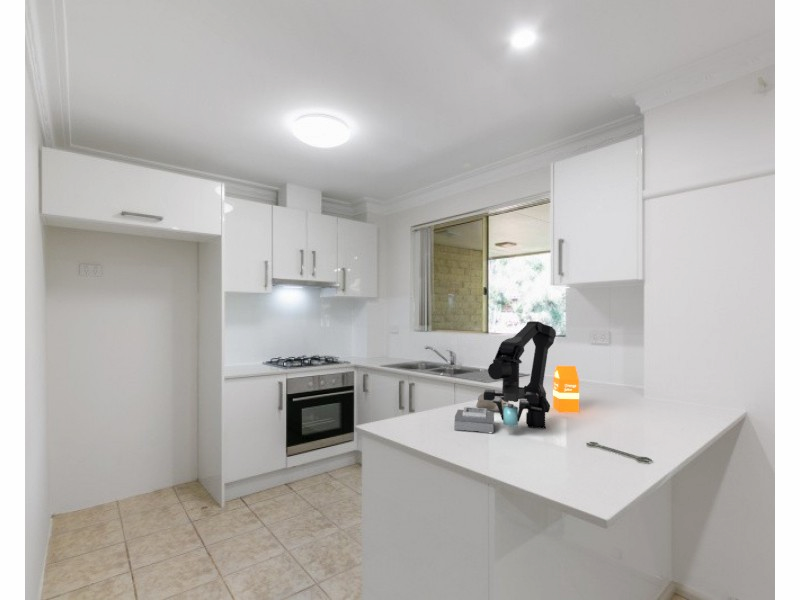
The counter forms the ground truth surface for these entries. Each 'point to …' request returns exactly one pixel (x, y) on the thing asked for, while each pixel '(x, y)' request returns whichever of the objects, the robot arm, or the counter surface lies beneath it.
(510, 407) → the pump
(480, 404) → the pipe
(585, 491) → the counter surface
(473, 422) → the square aluminium tube flange
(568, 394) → the orange juice
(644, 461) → the wrench
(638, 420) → the counter surface
